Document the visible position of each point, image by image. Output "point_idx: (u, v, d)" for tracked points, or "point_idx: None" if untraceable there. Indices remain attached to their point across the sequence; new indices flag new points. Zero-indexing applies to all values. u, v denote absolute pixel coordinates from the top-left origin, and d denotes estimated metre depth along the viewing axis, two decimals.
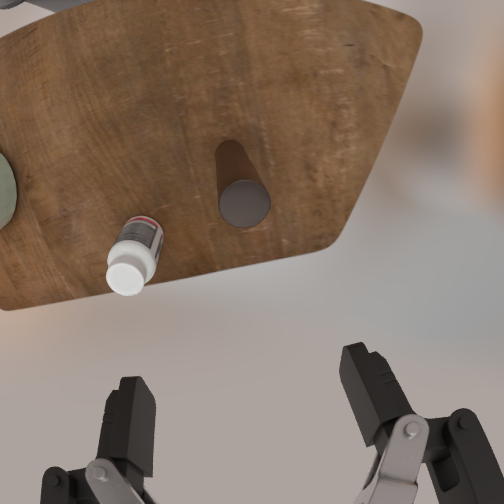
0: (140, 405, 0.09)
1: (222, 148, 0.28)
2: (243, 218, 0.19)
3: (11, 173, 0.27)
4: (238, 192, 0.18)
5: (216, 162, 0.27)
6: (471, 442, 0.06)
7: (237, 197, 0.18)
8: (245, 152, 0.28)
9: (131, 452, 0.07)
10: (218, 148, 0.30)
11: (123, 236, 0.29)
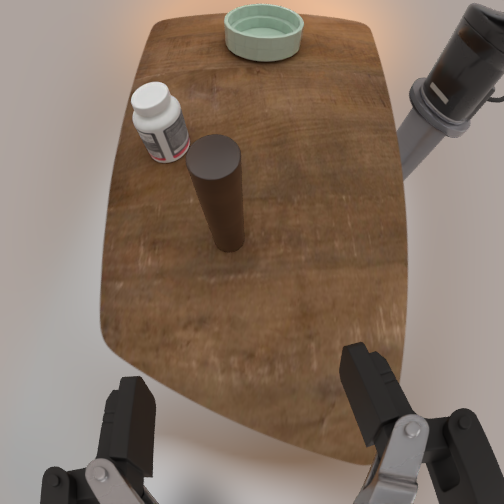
0: (140, 405, 0.09)
1: None
2: (197, 153, 0.16)
3: (268, 59, 0.38)
4: (227, 151, 0.16)
5: None
6: (471, 442, 0.06)
7: (222, 150, 0.16)
8: (235, 238, 0.27)
9: (131, 452, 0.07)
10: None
11: (182, 114, 0.30)
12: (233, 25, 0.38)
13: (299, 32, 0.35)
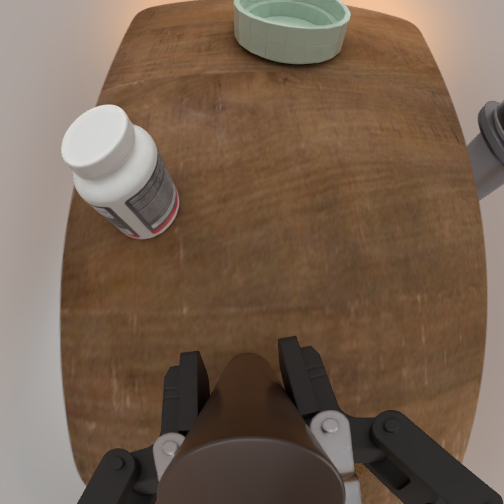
0: (201, 379, 0.10)
1: None
2: None
3: (299, 61, 0.25)
4: (303, 499, 0.03)
5: (259, 363, 0.14)
6: (407, 442, 0.06)
7: (285, 496, 0.03)
8: None
9: None
10: None
11: (161, 164, 0.17)
12: (246, 10, 0.25)
13: (346, 24, 0.22)
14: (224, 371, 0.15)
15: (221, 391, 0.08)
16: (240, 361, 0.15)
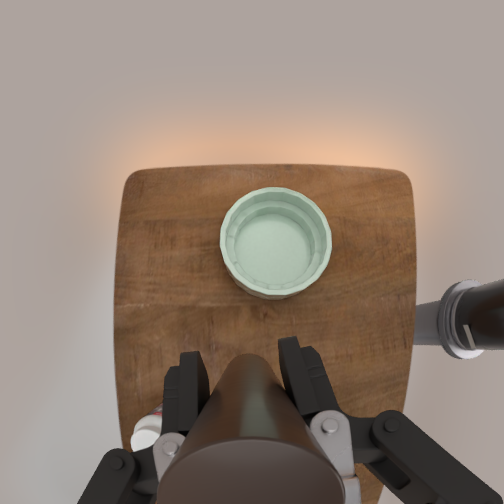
0: (201, 379, 0.10)
1: None
2: None
3: (278, 299, 0.35)
4: (303, 500, 0.03)
5: (259, 364, 0.14)
6: (407, 442, 0.06)
7: (285, 497, 0.03)
8: None
9: None
10: (266, 362, 0.18)
11: None
12: (232, 230, 0.35)
13: None
14: (224, 371, 0.15)
15: (221, 392, 0.08)
16: (240, 361, 0.15)
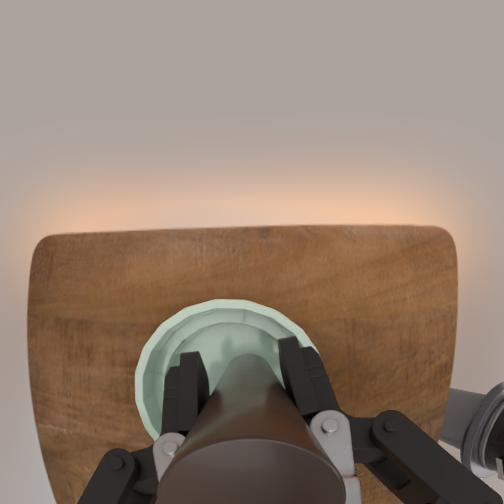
0: (201, 379, 0.10)
1: None
2: None
3: None
4: (304, 500, 0.03)
5: (259, 363, 0.14)
6: (407, 442, 0.06)
7: (285, 497, 0.03)
8: None
9: None
10: (266, 361, 0.18)
11: None
12: (162, 362, 0.19)
13: None
14: (224, 371, 0.15)
15: (221, 391, 0.08)
16: (240, 361, 0.15)
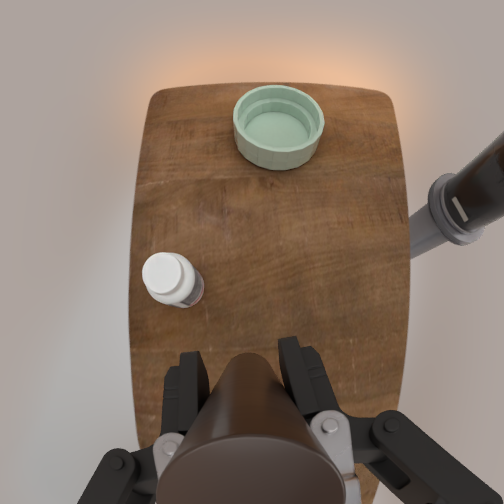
0: (201, 379, 0.10)
1: None
2: (194, 503, 0.03)
3: (282, 169, 0.39)
4: (304, 498, 0.03)
5: (259, 363, 0.14)
6: (407, 442, 0.06)
7: (285, 496, 0.03)
8: None
9: None
10: (266, 361, 0.18)
11: (196, 276, 0.31)
12: (243, 116, 0.39)
13: (319, 137, 0.36)
14: (224, 370, 0.15)
15: (221, 390, 0.08)
16: (240, 360, 0.15)
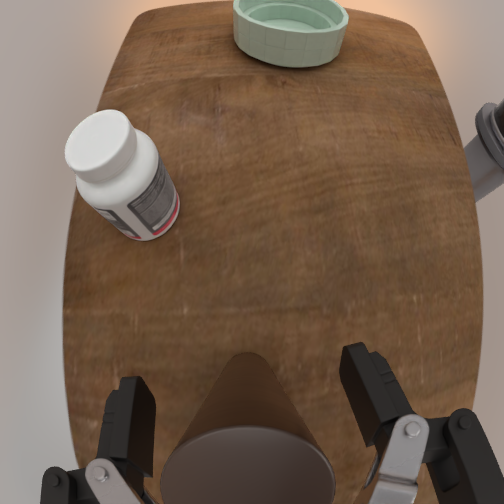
0: (140, 405, 0.09)
1: None
2: (196, 490, 0.04)
3: (298, 64, 0.25)
4: (296, 486, 0.04)
5: (258, 362, 0.14)
6: (471, 442, 0.06)
7: (279, 483, 0.04)
8: None
9: (131, 452, 0.07)
10: None
11: (162, 168, 0.17)
12: (245, 13, 0.25)
13: (344, 27, 0.22)
14: (224, 369, 0.15)
15: (221, 387, 0.08)
16: (239, 360, 0.15)
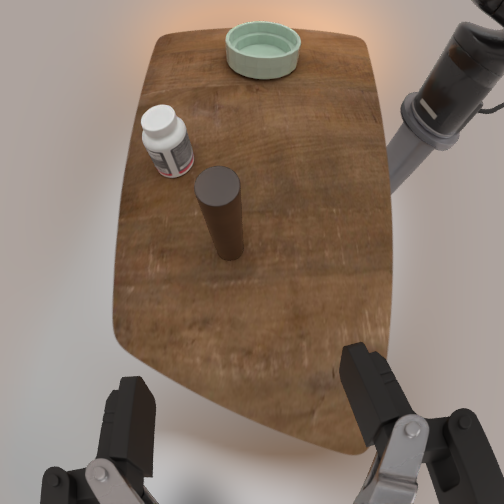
0: (140, 405, 0.09)
1: None
2: (204, 183, 0.20)
3: (266, 77, 0.42)
4: (229, 181, 0.20)
5: None
6: (471, 442, 0.06)
7: (225, 180, 0.20)
8: (235, 249, 0.31)
9: (131, 452, 0.07)
10: None
11: (187, 135, 0.33)
12: (234, 43, 0.42)
13: (296, 51, 0.39)
14: None
15: None
16: None
